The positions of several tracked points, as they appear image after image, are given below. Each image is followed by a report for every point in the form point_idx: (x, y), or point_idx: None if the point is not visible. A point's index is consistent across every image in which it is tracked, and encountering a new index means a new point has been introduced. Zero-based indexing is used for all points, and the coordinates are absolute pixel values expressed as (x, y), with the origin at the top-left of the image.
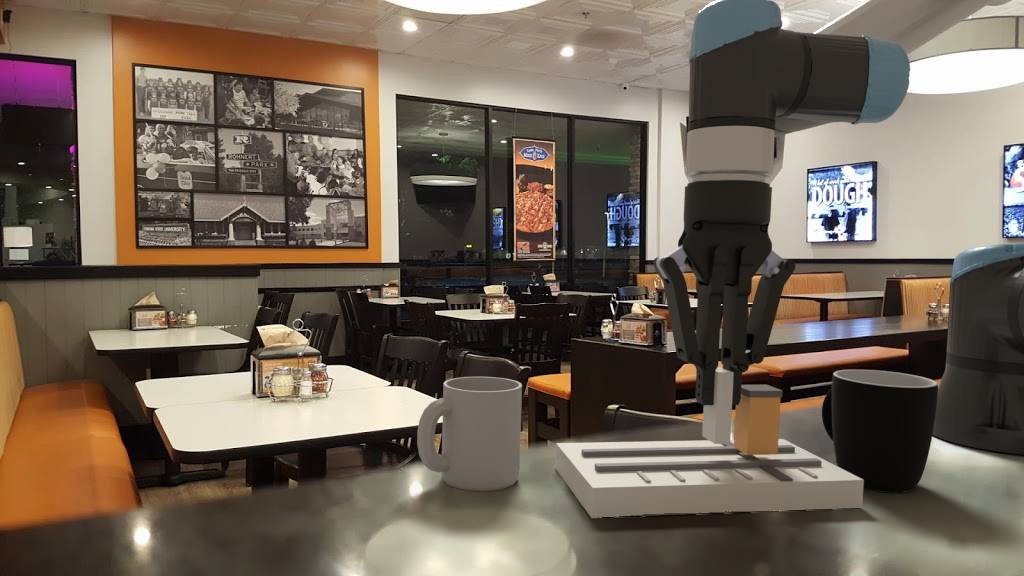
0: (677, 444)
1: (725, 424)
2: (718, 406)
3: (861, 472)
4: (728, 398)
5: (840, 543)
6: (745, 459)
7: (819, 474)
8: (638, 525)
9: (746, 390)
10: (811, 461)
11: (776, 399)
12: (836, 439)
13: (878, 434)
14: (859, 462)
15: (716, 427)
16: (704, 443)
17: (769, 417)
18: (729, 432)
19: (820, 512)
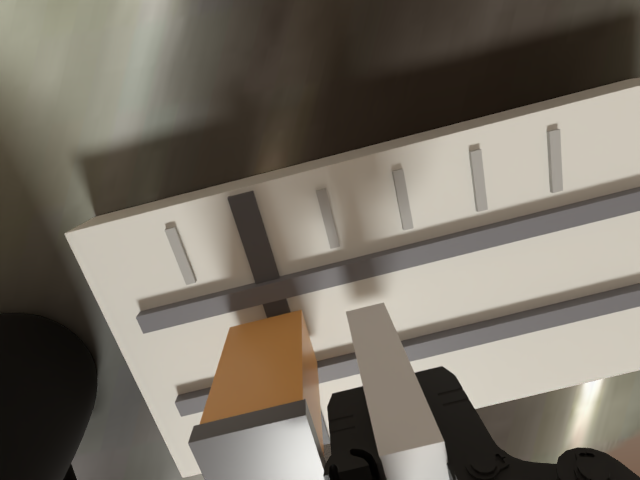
0: None
1: (367, 334)
2: (402, 357)
3: (56, 338)
4: (376, 380)
5: (182, 17)
6: None
7: (156, 253)
8: (550, 56)
9: (311, 430)
10: (159, 310)
11: (213, 418)
12: (73, 420)
13: None
14: (49, 349)
15: (391, 322)
16: None
17: (241, 376)
18: (352, 325)
19: (182, 183)
